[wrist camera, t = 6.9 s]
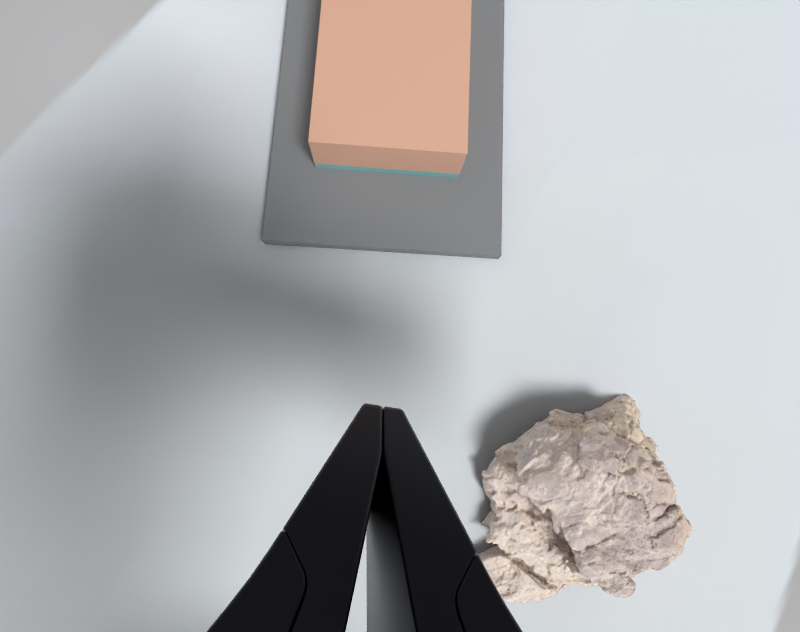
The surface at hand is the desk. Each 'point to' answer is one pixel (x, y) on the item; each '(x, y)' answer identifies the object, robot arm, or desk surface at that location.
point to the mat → (380, 191)
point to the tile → (392, 86)
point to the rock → (580, 506)
